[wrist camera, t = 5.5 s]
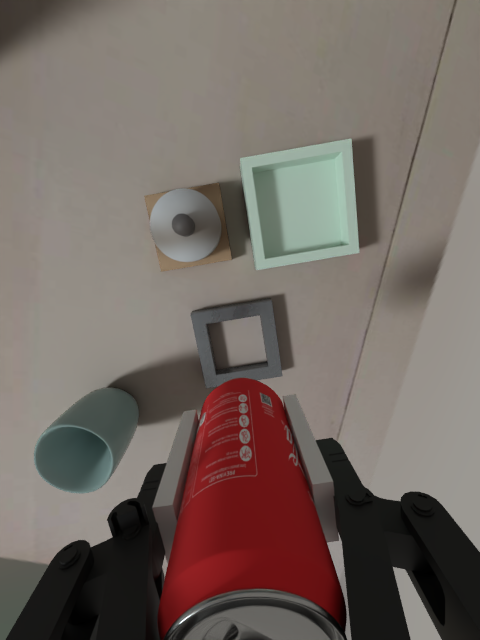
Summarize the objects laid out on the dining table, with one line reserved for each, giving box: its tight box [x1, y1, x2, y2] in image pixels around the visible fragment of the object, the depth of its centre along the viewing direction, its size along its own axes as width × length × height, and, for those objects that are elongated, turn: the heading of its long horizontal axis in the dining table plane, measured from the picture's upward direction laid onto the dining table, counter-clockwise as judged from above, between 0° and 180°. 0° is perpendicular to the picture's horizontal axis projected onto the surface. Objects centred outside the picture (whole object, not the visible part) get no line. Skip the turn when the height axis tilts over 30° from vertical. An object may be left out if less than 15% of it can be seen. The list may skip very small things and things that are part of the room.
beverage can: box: [157, 377, 347, 640], centre depth 13 cm, size 5×5×12 cm
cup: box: [34, 387, 139, 493], centre depth 32 cm, size 8×8×10 cm
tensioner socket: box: [191, 298, 282, 388], centre depth 34 cm, size 10×10×2 cm
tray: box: [240, 139, 359, 270], centre depth 30 cm, size 11×11×3 cm
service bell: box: [144, 183, 232, 272], centre depth 29 cm, size 8×8×6 cm
